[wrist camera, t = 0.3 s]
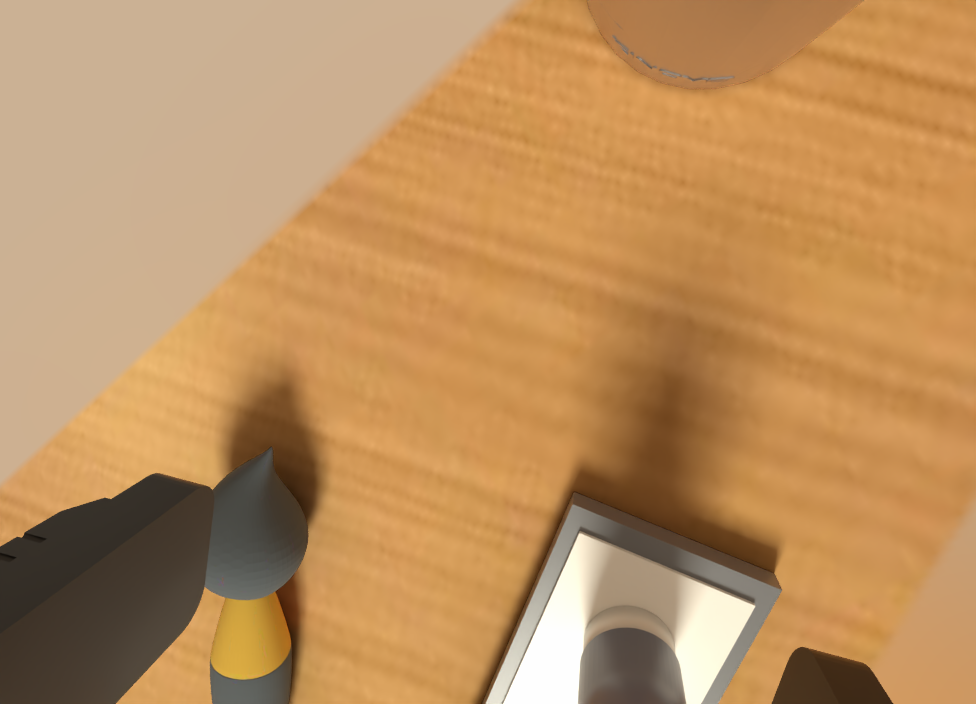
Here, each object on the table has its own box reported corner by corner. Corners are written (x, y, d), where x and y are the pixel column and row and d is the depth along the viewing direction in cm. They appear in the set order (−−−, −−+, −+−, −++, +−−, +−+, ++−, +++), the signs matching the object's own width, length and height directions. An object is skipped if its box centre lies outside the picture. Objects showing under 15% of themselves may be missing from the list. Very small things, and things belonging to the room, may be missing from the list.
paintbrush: (331, 778, 34) (285, 873, 29) (244, 761, 35) (186, 849, 30) (324, 426, 29) (268, 469, 25) (225, 416, 30) (153, 455, 25)
